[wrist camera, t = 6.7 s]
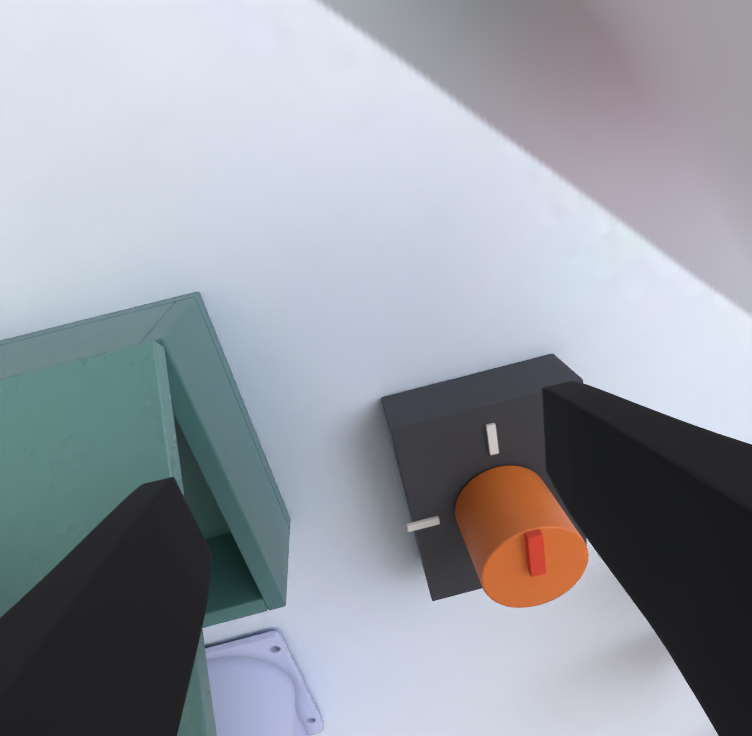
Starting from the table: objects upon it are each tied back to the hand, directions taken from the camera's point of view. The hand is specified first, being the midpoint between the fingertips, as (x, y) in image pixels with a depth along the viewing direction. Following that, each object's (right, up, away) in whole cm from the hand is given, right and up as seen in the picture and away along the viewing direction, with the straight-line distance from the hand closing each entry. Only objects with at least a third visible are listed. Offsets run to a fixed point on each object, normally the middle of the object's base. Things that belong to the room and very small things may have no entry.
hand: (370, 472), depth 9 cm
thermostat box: (+5, -3, +13) cm, 14 cm away
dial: (+5, -4, +11) cm, 13 cm away
